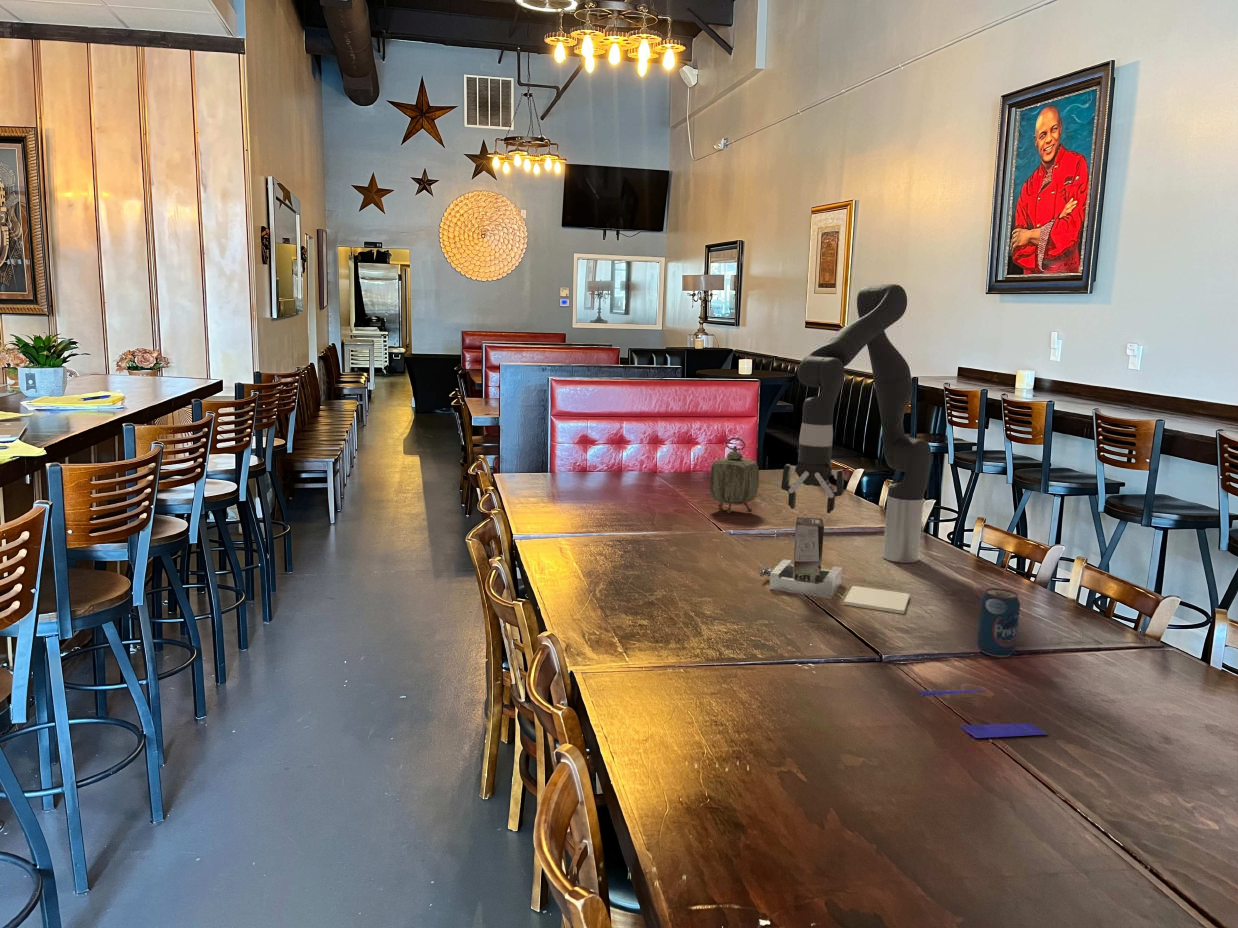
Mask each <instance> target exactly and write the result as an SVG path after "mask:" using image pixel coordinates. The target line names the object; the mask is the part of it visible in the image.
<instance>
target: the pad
mask: <svg viewBox="0 0 1238 928" xmlns="http://www.w3.org/2000/svg"><path fill="white" fill-rule="evenodd" d="M910 595H911V594H910V593H905V592H897V591H891V590H885V589H884V590H883V589H878V588H871V587H864V586H858V585H857V586H856V585H852V586H851V588H850V589H849V592H848V593H847V595H846V596H845V599H844V600H843V605H844V606H851V607H858V608H862V609H863V608H864V609H869V610H877V611H882V612H890V613H896V614H903V615H904V614H905V611H906V607H907V606H908V604H909V603H908V602H909V600H910Z"/></svg>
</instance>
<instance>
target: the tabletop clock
mask: <svg viewBox="0 0 1238 928" xmlns="http://www.w3.org/2000/svg"><path fill="white" fill-rule="evenodd" d="M731 440H737V441H740V442H741V443H742V444H743V446H742V447H741V448H740V447H739V448H737V446H736V445H734V446H733V447H731V446H729V445H728V442H729V441H731ZM725 446H726V448H727V449H729V450H731V451H730V452H728V453H727V455H726V457H724V458H720V459H716V460H714V461H713V462H712V464H711V468H710V474H709V492H710V497H711V499H712V500H714V501H717V502H720V503H718V504H717V507H718V508H719V509H722V508H723V507H724V505H723V503H725V504H728V508H726V513H727V512H731V513H732V505H744V506H745V507H746V511H747V513H748V512H751V513H752V512H753V509H752V508H750V507H749V504H748V503H749V502H752V501H754V500H755V499H756V497H757V494H758V489H759V482H760V481H759V480H760V478H759V477H760V476H759V475H760V474H759V466H758V463H757V462H756V461H754V460H752V459H748V458H745V457H743V455H742V453H741V452H740V451H742V450H744V448H746V443H745V441H744V440H743V439H742V438H739V437H729V438H728V439H726V441H725Z"/></svg>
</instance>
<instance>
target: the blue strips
mask: <svg viewBox="0 0 1238 928" xmlns="http://www.w3.org/2000/svg"><path fill="white" fill-rule="evenodd" d="M917 692H918V693H919V694H921V696H923V697H933V696H941V695H944V696H945V695H954V694H955V695H956V694H963V693H964V694H966V693H976V692H979V693H980V692H987V690H986V689H985V690H984V689H981V690H980V689H979V690H978V689H977V690H975V689H974V690H973V689H972V690H971V689H969V690H967V689H966V690H917ZM958 727H959V728H961V730H964V731H965V732H966V733H967V734H969V735H971V736H972V737H973V738H975V739H982V738H985V739H986V738H1003V737H1020V736H1021V737H1023V736H1043V735H1048V732H1047V731H1046V732H1045V731H1044V730H1042V729H1041V728H1039V727H1037V726H1036V725H1035V724H1033V723H1031V722H1028V723H1026V722H1025V723H998V724H992V723H991V724H963V725H962V724H961V725H960V724H959V725H958Z"/></svg>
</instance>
